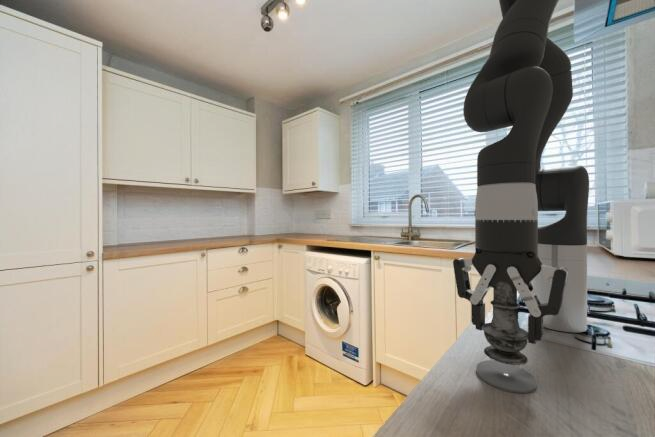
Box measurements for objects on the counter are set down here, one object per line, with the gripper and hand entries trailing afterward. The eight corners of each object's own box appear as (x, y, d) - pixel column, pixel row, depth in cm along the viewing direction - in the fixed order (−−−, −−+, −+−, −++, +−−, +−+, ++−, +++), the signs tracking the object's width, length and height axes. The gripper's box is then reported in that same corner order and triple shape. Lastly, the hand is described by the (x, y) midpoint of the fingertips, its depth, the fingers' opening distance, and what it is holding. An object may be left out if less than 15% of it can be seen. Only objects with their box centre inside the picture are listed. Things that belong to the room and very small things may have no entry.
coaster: (484, 359, 45) (484, 355, 45) (540, 377, 40) (540, 372, 40) (469, 377, 40) (469, 373, 40) (530, 400, 35) (530, 396, 35)
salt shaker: (539, 368, 36) (539, 276, 36) (490, 363, 38) (490, 275, 38) (518, 347, 42) (518, 268, 42) (476, 344, 43) (476, 267, 43)
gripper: (574, 217, 37) (573, 342, 38) (461, 217, 48) (461, 315, 48) (568, 217, 32) (568, 363, 32) (443, 217, 42) (443, 328, 42)
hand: (504, 334), depth 40 cm, fingers closed on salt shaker, 6 cm apart
